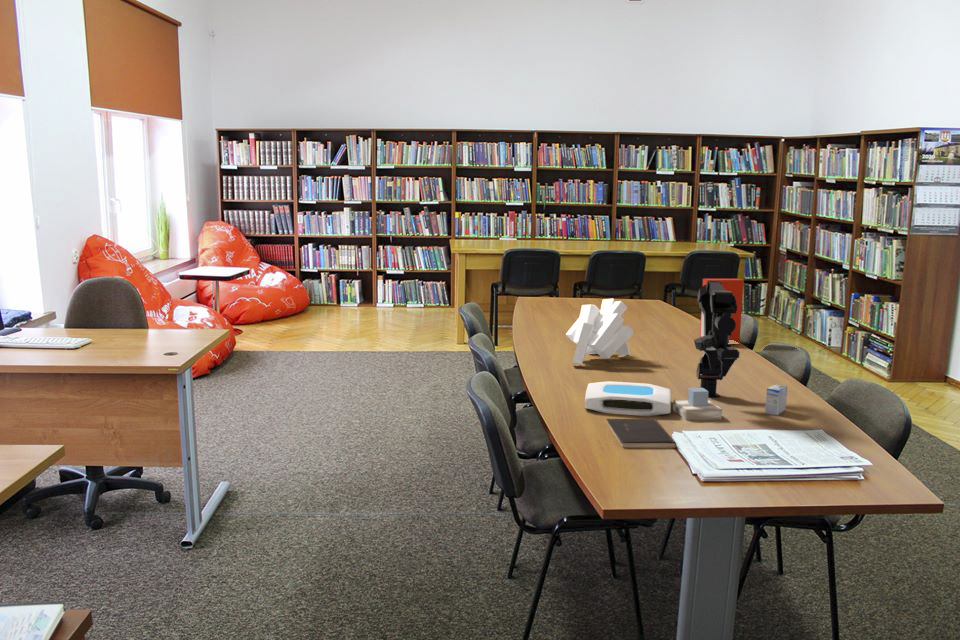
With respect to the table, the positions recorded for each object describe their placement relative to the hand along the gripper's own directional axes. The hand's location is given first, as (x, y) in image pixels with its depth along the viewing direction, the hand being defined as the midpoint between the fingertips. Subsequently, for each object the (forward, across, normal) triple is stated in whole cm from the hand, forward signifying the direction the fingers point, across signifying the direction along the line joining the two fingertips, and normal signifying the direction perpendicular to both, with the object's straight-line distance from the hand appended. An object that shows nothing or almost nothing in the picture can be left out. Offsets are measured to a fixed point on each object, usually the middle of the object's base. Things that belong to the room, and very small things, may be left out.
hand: (717, 373), depth 260 cm
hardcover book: (+13, +28, -36) cm, 48 cm away
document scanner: (+12, -4, -30) cm, 33 cm away
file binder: (+12, -111, +50) cm, 122 cm away
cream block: (+12, +8, -10) cm, 18 cm away
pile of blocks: (+12, -76, -21) cm, 80 cm away
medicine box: (+12, +7, +18) cm, 23 cm away
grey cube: (+8, +8, -10) cm, 15 cm away
